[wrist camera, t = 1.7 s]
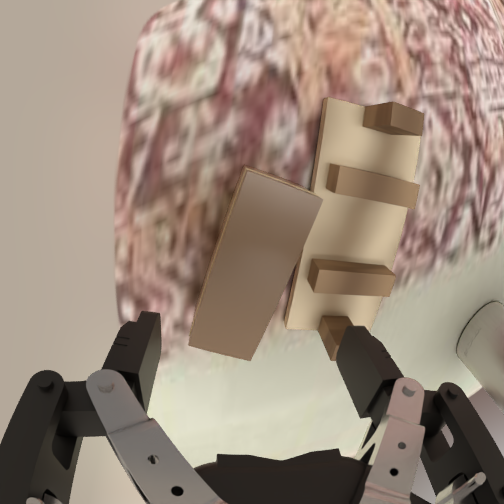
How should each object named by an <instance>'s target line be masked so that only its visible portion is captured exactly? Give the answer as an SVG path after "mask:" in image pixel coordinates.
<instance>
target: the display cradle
mask: <svg viewBox="0 0 504 504" xmlns="http://www.w3.org/2000/svg"><path fill="white" fill-rule="evenodd" d="M423 121H424V113H421V112H419V111H417V110H414V109H412V108H409V107H406V106H404V105H401V104H398V103H396V102H388V103H382V104H377V105H372V106H367V107H364V106H360V105H357V104H353V103H350V102H346V101H342V100H338V99H334V98H330V97H327V98H325V99H324V101H323V108H322V116H321V123H320V130H319V137H318V144H317V150H316V157H315V163H314V170H313V176H312V182H311V188H310V191H311V192H313V193H315V194H317V195H319V197H320V198H322V199H323V202H322V205H321V207H320V209H319V212H318V214H317V217H316V219H315V221H314V224H313V226H312V228H311V231H310V233H309V235H308V238H307V240H306V242H305V245H304V247H303V249H302V251H301V254H300V256H299V258H298V261H297V264H296V269H295V274H294V278H293V283H292V288H291V293H290V297H289V302H288V307H287V311H286V316H285V320H284V324H285V327H286V329H299V330H318V332H319V334H320V336H321V339H322V341H323V343H324V346H325V348H326V350H327V353H328V355H329V358H330V360H331V361H336V354H337V351H338V348H339V345H340V343H341V340H342V337H343V335H344V332H345V329H346V328H347V326H365V327H366V328H367V330H371V327H372V325H373V322H374V319H375V317H376V314H377V311H378V309H379V306H380V303H381V300H382V297H389V296H390V293H391V290H392V287H393V284H394V281H395V278H396V275H395V274H394V273H393V272H392V271H391V270H392V266H393V263H394V260H395V256H396V253H397V249H398V245H399V242H400V238H401V234H402V230H403V226H404V222H405V218H406V214H407V210H408V208H411V209H415V205H416V201H417V196H418V191H419V187H420V185H418V184H415V183H413V181H414V176H415V171H416V165H417V159H418V152H419V146H420V139H421V136H422V130H423Z"/></svg>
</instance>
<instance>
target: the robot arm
mask: <svg viewBox="0 0 504 504" xmlns="http://www.w3.org/2000/svg"><path fill="white" fill-rule="evenodd" d="M160 355H161V320H160V313H156V312H148V311H142V312H141V313H140V316H139V318H138V320H137V322H132V321H128V322H127V323H126V324H124V325H123V326H122V327H121V328H120V330H119V332H118V334H117V337H116V338H115V341H114V343H113V345H112V347H111V349H110V351H109V353H108V356H107V358H106V360H105V362H104V365H103V367H102V369H101V370H98V371H96V372H94V373H92V374H91V375H90V376H89V377H88V379H87V381H78V382H77V381H76V382H64V381H63V378H62V376H61V375H60V374H58V373H57V372H54V371H51V370H44V371H40V372H38V373H36V374H35V375H33V376H32V378H31V379H30V381H29V383H28V385H27V387H26V389H25V391H24V393H23V395H22V397H21V399H20V401H19V403H18V405H17V407H16V409H15V412H14V413H13V416H12V418H11V420H10V423H9V425H8V427H7V429H6V432H5V434H4V437H3V439H2V442H1V444H0V504H69V499H70V494H71V488H72V483H73V478H74V473H75V469H76V464H77V460H78V456H79V452H80V448H81V444H82V440H83V437H90V436H106V438H107V440H108V442H109V443H110V445H111V447H112V449H113V451H114V453H115V454H116V456H117V458H118V460H119V461H120V463H121V465H122V466H123V468H124V470H125V472H126V473H127V475H128V476H129V478H130V480H131V481H132V483H133V485H134V486H135V488H136V489H137V491H138V492H139V494H140V495H141V497H142V498H143V500H144V501H145V503H146V504H431V503H429V502H427V501H425V500H424V499H422V498H420V497H419V496H416V495H415V494H413V493H412V492H411V489H412V486H413V482H414V478H415V474H416V471H417V466H418V462H419V457H420V458H421V460H422V463H423V465H424V467H425V470H426V472H427V475H428V477H429V480H430V482H431V485H432V487H433V489H434V492H435V495H436V501H435V504H504V458H503V456H502V454H501V452H500V450H499V448H498V447H497V445H496V443H495V441H494V440H493V438H492V436H491V435H490V433H489V431H488V430H487V428H486V427H485V425H484V423H483V421H482V420H481V418H480V417H479V415H478V413H477V412H476V410H475V409H474V407H473V406H472V404H471V402H470V401H469V399H468V398H467V396H466V395H465V393H464V392H463V390H462V389H461V388H460V387H459V386H457V385H456V384H454V383H450V382H445V383H443V384H441V386H440V387H439V389H438V390H437V391H430V390H424V389H423V387H422V385H421V384H420V383H419V382H417V381H416V380H414V379H411V378H407V377H404V376H403V375H402V373H401V371H400V370H399V368H398V367H397V365H396V364H395V362H394V361H393V359H392V358H391V356H390V355H389V353H388V352H387V350H386V349H385V347H384V346H383V344H382V343H381V342H380V341H379V340H378V339H376V338H375V337H374V336H371V334H370V333H369V331H368V330H367V328H366V327H365V326H347V328H346V329H345V332H344V335H343V337H342V340H341V343H340V345H339V348H338V351H337V354H336V363H337V366H338V368H339V371H340V373H341V375H342V377H343V380H344V382H345V384H346V387H347V389H348V391H349V393H350V396H351V398H352V400H353V403H354V405H355V407H356V410H357V412H358V414H359V417H360V418H366V417H371V419H372V420H371V422H370V423H369V425H368V428H367V430H366V433H365V435H364V438H363V440H362V443H361V445H360V447H359V450H358V452H357V454H356V456H355V458H350V457H345V456H341V454H340V451H339V448H338V449H331V450H323V451H314V452H309V453H306V454H303V455H300V456H297V457H294V458H290V459H287V460H274V459H268V458H262V457H257V456H252V455H227V454H217V460H216V462H212V463H207V464H203V465H201V466H198V467H195V468H194V469H193V468H192V466H191V465H190V464H189V463H188V462H187V460H186V459H185V458H184V457H183V456H182V454H181V453H180V452H179V451H178V449H177V448H176V447H175V445H174V444H173V443H172V441H171V440H170V439H169V437H168V436H167V435H166V433H165V432H164V431H163V429H162V428H161V427H160V425H159V424H158V423H157V421H156V420H155V419H154V418H151V419H150V418H149V417H148V416H147V410H148V406H149V401H150V397H151V392H152V388H153V384H154V380H155V375H156V371H157V367H158V363H159V359H160ZM457 355H458V357H459V358H460V359H461V361H462V362H463V363H464V364H465V365H466V367H467V368H468V369H469V370H470V371H471V373H472V374H473V375H474V377H475V378H476V379H477V380H478V381H479V383H480V384H481V385H482V387H483V388H484V389H485V390H486V392H487V393H488V394H489V395H490V397H491V398H492V399H493V401H494V402H495V403H496V404H497V406H498V407H499V409H500V410H501V411H502V413H503V414H504V306H503V305H502V304H501V303H499V302H492V303H489V304H487V305H486V306H484V307H483V308H482V309H481V310H480V311H479V312H478V313H477V314H476V315H475V316H474V317H473V318H472V319H471V321H470V322H469V323H468V325H467V326H466V328H465V330H464V332H463V333H462V335H461V338H460V340H459V343H458V346H457ZM445 424H447V426H448V428H449V429H450V431H451V433H452V435H453V438H454V443H453V445H452V447H451V448H450V447H449V444H448V442H447V441H446V438H445V437H444V435H443V433H442V431H441V429H442V428H443V427H444V426H445Z"/></svg>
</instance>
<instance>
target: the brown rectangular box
mask: <svg viewBox="0 0 504 504" xmlns="http://www.w3.org/2000/svg"><path fill="white" fill-rule="evenodd" d="M322 202H323V199H322V198H320V197H319V195H317V194H315V193H313V192H311V191H310V190H308V189H306V188H305V187H303V186H301V185H298V184H296V183H293V182H291V181H288V180H285V179H283V178H280V177H277V176H275V175H272V174H269V173H267V172H264V171H261V170H258V169H255V168H253V167H250V166H247V165H244V166H243V169H242V172H241V174H240V177H239V180H238V183H237V185H236V188H235V191H234V194H233V197H232V199H231V202H230V205H229V208H228V211H227V214H226V216H225V219H224V222H223V225H222V228H221V231H220V234H219V237H218V240H217V243H216V246H215V249H214V252H213V255H212V258H211V261H210V264H209V267H208V270H207V273H206V276H205V279H204V282H203V285H202V288H201V291H200V294H199V297H198V301H197V304H196V307H195V312H194V317H193V322H192V327H191V330H190V334H189V336H190V338H189V344H188V345H189V346H192V347H196V348H199V349H203V350H207V351H211V352H215V353H219V354H223V355H227V356H231V357H235V358H239V359H244V360H248V361H251V359H252V357H253V355H254V353H255V351H256V349H257V347H258V345H259V342H260V340H261V338H262V336H263V334H264V332H265V330H266V328H267V326H268V324H269V322H270V320H271V317H272V315H273V313H274V311H275V309H276V307H277V305H278V302H279V300H280V298H281V296H282V294H283V292H284V289H285V287H286V285H287V283H288V281H289V278H290V276H291V274H292V272H293V270H294V267H295V265H296V263H297V261H298V258H299V256H300V254H301V251H302V249H303V247H304V245H305V242H306V240H307V238H308V235H309V233H310V231H311V228H312V226H313V224H314V221H315V219H316V217H317V214H318V212H319V209H320V207H321V205H322Z"/></svg>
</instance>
